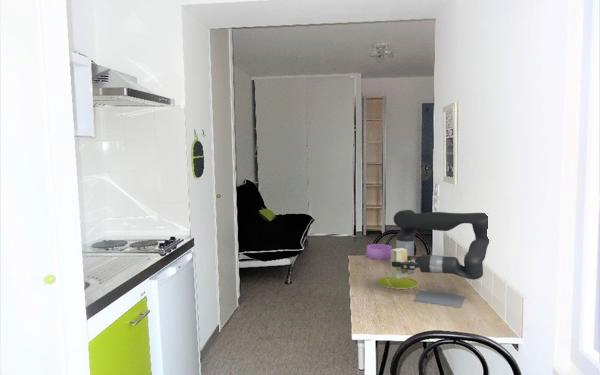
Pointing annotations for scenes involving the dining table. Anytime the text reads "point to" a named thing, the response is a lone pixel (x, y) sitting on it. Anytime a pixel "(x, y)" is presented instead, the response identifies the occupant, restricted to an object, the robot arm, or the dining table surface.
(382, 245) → the purple basket
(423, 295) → the mat
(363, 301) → the dining table surface
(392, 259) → the skincare box
